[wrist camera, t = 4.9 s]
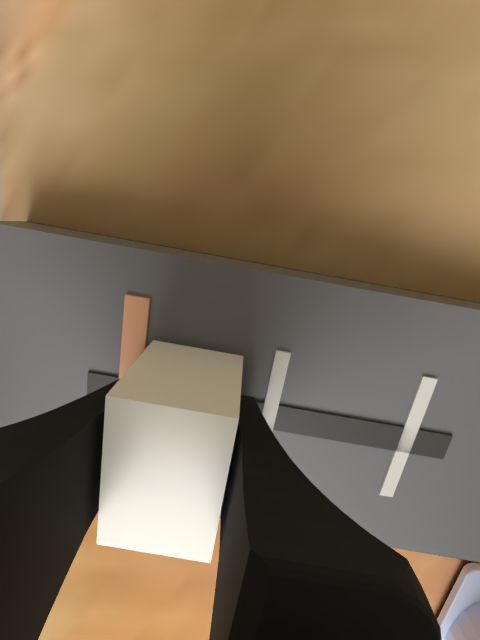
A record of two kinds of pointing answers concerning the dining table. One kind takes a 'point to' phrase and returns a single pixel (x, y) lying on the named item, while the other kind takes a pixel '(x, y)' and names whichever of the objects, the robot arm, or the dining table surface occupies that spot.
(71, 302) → the slider panel
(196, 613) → the dining table surface
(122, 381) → the slider knob
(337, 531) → the robot arm
